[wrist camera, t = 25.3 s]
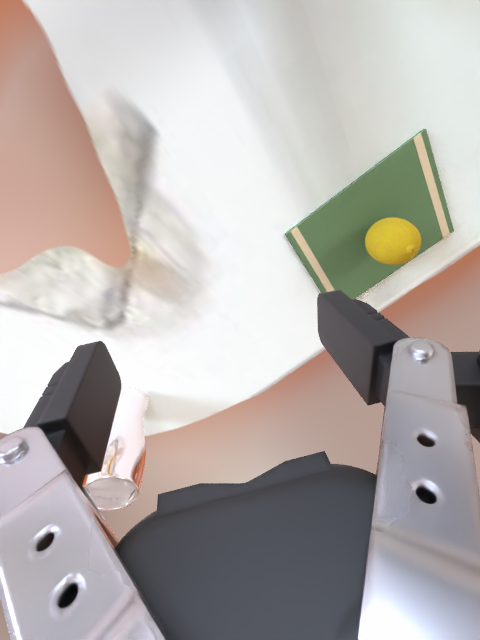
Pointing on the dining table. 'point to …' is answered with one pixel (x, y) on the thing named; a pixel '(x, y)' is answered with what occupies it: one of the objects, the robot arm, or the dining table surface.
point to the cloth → (373, 219)
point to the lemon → (393, 241)
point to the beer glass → (122, 455)
